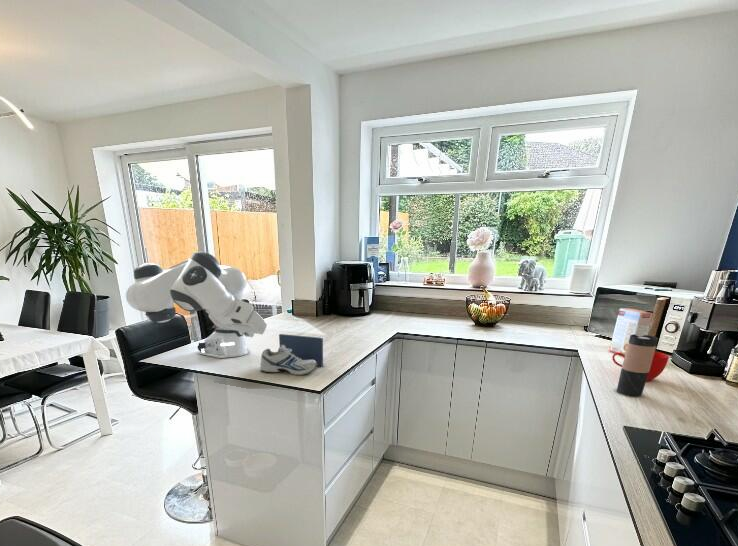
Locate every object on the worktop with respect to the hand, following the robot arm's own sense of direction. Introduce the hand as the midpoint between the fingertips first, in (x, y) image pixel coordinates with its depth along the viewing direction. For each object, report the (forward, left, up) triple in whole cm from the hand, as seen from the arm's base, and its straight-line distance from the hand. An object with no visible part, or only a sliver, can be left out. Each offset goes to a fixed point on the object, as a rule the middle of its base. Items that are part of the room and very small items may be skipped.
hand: (250, 335), depth 134 cm
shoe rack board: (+2, +34, -19) cm, 39 cm away
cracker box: (+136, +103, -19) cm, 172 cm away
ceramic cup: (+130, +65, -19) cm, 147 cm away
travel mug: (+123, +44, -19) cm, 132 cm away
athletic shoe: (+2, +22, -19) cm, 30 cm away
